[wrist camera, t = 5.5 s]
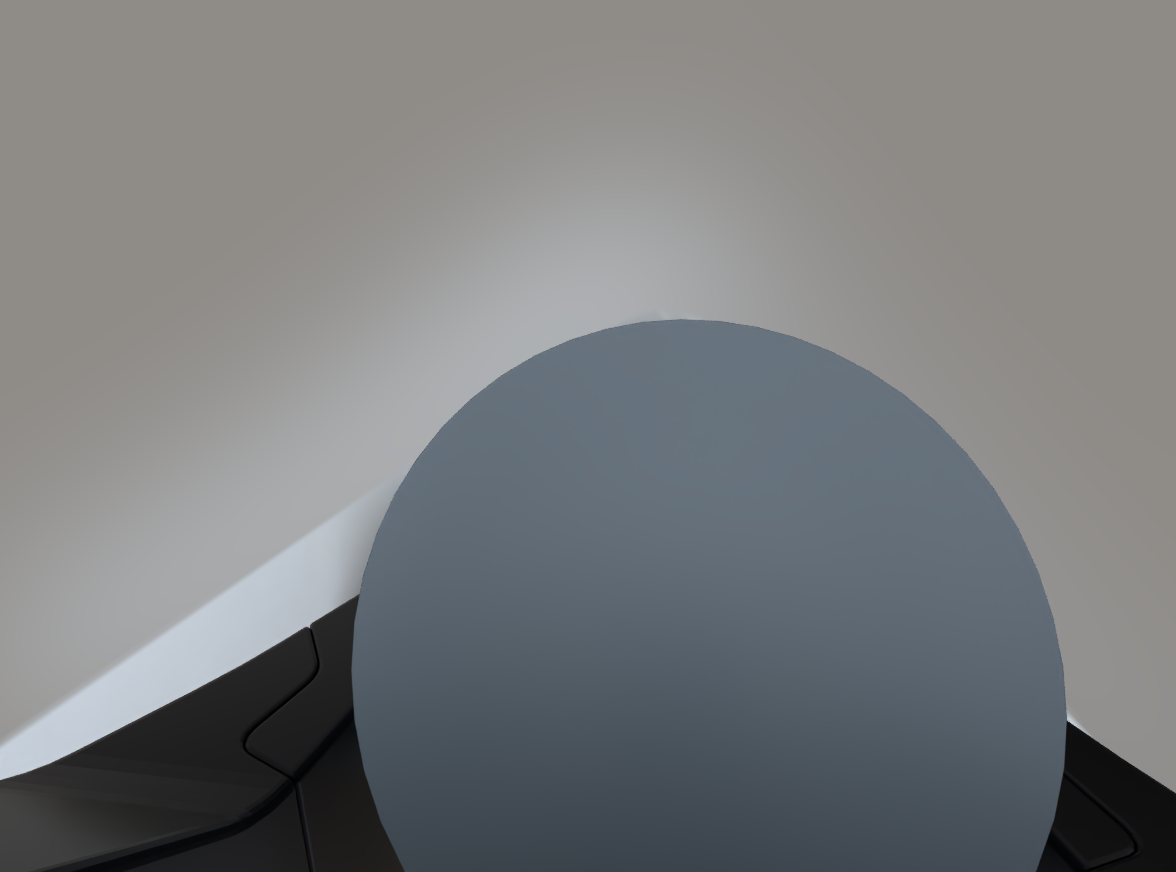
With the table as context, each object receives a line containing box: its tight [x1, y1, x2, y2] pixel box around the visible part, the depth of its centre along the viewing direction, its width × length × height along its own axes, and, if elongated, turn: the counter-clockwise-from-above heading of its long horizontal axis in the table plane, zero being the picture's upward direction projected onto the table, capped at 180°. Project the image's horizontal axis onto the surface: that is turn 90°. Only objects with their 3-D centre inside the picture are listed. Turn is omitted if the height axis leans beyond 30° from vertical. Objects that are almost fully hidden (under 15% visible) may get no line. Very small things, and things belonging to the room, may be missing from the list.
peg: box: [352, 319, 1067, 872], centre depth 9 cm, size 4×4×12 cm
